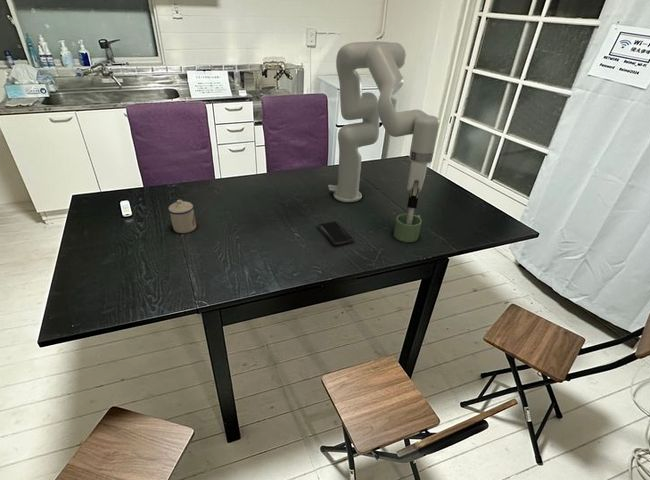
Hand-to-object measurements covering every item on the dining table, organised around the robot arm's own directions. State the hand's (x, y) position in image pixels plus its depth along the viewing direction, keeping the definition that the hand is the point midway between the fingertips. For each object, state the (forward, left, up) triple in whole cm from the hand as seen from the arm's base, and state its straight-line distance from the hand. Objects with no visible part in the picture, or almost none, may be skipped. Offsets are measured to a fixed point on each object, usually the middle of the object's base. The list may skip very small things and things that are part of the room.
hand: (412, 205), depth 136 cm
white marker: (0, 0, -8) cm, 8 cm away
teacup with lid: (-84, -18, -13) cm, 87 cm away
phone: (-26, -7, -13) cm, 30 cm away
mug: (+1, +1, -13) cm, 13 cm away
